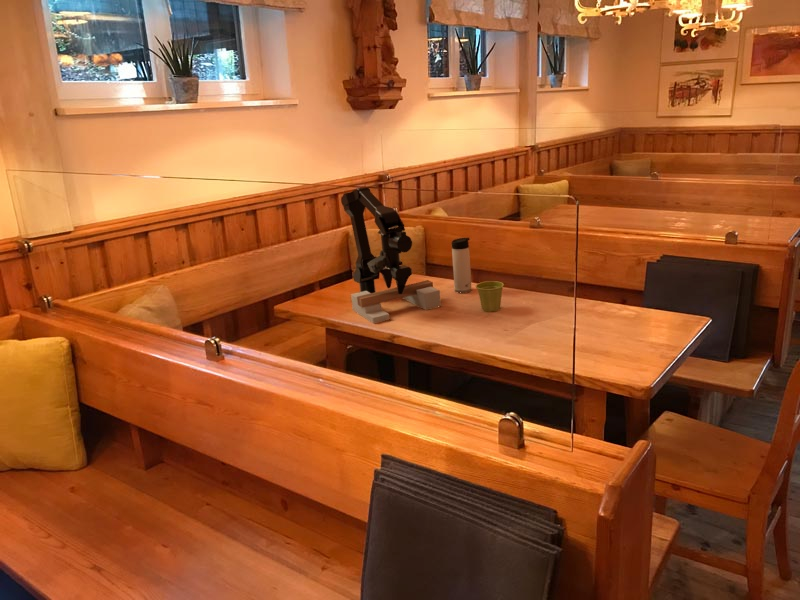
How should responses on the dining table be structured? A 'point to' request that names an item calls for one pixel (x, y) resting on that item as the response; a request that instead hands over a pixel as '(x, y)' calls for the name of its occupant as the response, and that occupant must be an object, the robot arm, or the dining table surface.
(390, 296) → the walnut bar
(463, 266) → the travel mug
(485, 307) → the plant pot
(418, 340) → the dining table surface
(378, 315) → the notch rack
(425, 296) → the notch rack
